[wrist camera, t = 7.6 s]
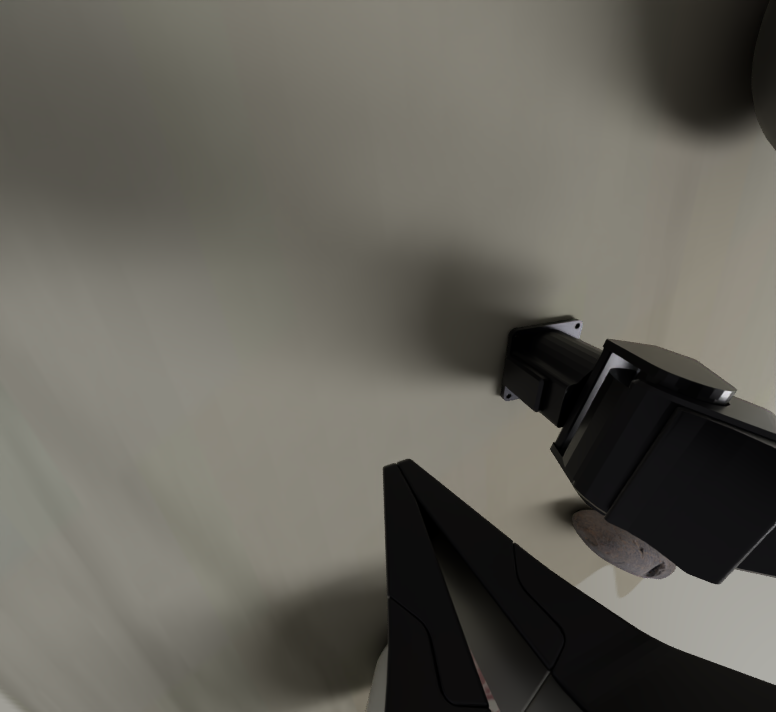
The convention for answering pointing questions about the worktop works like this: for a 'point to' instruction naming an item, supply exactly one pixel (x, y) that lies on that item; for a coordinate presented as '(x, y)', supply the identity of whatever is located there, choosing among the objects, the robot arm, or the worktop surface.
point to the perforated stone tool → (620, 546)
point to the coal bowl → (766, 74)
